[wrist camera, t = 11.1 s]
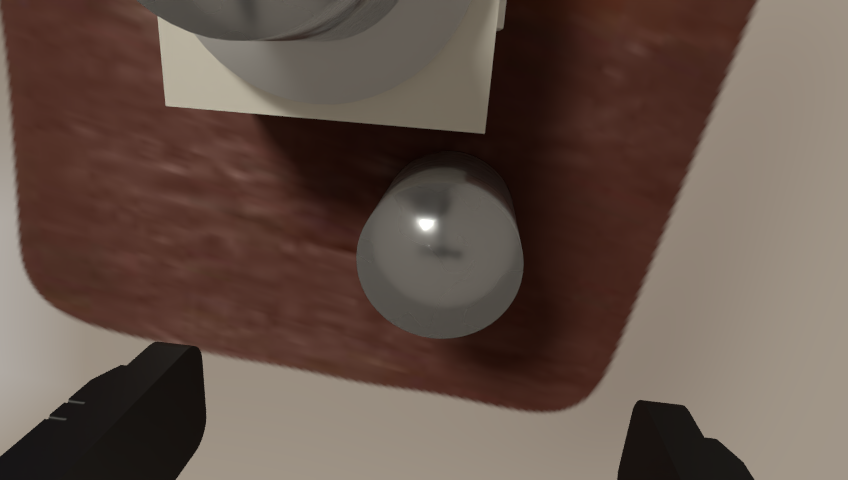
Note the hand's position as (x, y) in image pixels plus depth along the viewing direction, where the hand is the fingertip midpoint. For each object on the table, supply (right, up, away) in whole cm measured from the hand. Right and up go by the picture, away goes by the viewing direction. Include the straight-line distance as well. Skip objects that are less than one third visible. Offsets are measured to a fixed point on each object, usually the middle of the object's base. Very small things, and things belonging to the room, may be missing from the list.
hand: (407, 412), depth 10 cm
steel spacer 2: (+1, +4, +11) cm, 12 cm away
